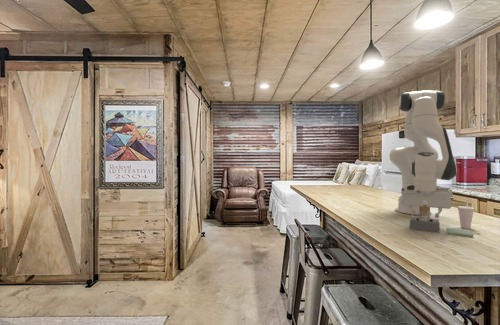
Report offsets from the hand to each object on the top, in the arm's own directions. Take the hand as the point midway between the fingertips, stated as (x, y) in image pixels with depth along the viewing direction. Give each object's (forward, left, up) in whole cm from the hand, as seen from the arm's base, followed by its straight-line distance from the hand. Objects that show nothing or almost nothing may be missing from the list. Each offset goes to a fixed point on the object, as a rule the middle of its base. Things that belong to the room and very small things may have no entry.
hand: (425, 216), depth 134 cm
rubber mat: (+2, +13, -6) cm, 14 cm away
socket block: (0, 0, -6) cm, 6 cm away
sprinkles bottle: (0, 0, -6) cm, 6 cm away
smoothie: (-11, +16, -6) cm, 21 cm away
